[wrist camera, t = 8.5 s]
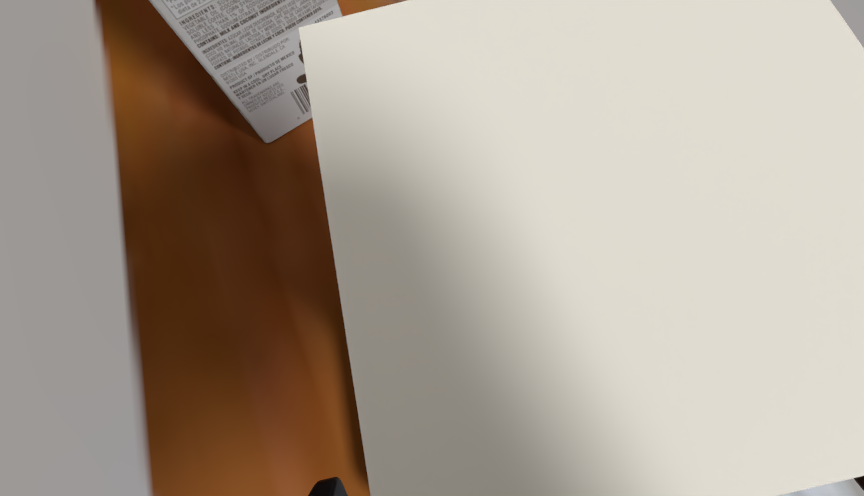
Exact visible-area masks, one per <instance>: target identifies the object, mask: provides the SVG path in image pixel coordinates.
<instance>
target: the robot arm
mask: <svg viewBox="0 0 864 496" xmlns="http://www.w3.org/2000/svg"><path fill="white" fill-rule="evenodd" d="M854 479H855V481H856V482H857V483H858V484H859V485H860V487H861V488H862V489H863V490H864V476H861V477H856V478H854ZM308 496H348V495H347V493H346V491H345V489H344V486H343V484H342V482H341V480H340V479H339V478H338V477H333V478H329V479H324V480H320V481H318V482H317V483H316V484H315V485H314V487H313V489H312V490H311V492H310V493H309V495H308Z"/></svg>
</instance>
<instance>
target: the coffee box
mask: <svg viewBox="0 0 864 496" xmlns="http://www.w3.org/2000/svg"><path fill="white" fill-rule="evenodd" d="M149 1H150V2H151V4H152V5H153V6H154V7H155V9H156V10H157V11H158V12H159V13H160V15H161V16H162V17H163V18H164V20H165V21H166V22H167V23H168V24H169V26H170V27H171V28H172V29H173V31H174V32H175V33H176V34H177V35H178V37H179V38H180V39H181V40H182V42H183V43H184V44H185V45H186V47H187V48H188V49H189V50H190V51H191V53H192V54H193V55H194V56H195V58H196V59H197V60H198V61H199V62H200V64H201V65H202V66H203V67H204V69H205V70H206V71H207V72H208V74H209V75H210V76H211V77H212V79H213V80H214V81H215V82H216V84H217V85H218V86H219V87H220V89H221V90H222V91H223V92H224V93H225V94H226V96H227V97H228V98H229V100H230V101H231V102H232V103H233V105H234V106H235V107H236V108H237V110H238V111H239V112H240V113H241V114H242V116H243V117H244V118H245V119H246V120H247V122H248V123H249V124H250V125H251V126H252V128H253V129H254V130H255V131H256V132H257V134H258V135H259V136H260V137H261V138H262V140H263V141H264V142H265V143H270V142H272V141H274V140H276V139H277V138H279V137H281V136H282V135H284V134H286V133H287V132H289V131H291V130H292V129H294V128H296V127H297V126H299V125H301V124H302V123H304V122H306V121H307V120H309V119H311V118H312V112H311V105H310V99H309V92H308V86H307V79H306V73H305V66H304V60H303V53H302V47H301V40H300V34H299V27H303V26H307V25H311V24H315V23H319V22H323V21H327V20H331V19H335V18H339V17H343V15H342V12H341V9H340V6H339V3H338V1H337V0H149Z"/></svg>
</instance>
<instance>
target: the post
mask: <svg viewBox="0 0 864 496" xmlns="http://www.w3.org/2000/svg"><path fill="white" fill-rule="evenodd" d="M299 34H300V40H301V47H302V53H303V60H304V66H305V73H306V79H307V86H308V92H309V99H310V105H311V112H312V118H313V125H314V131H315V138H316V144H317V151H318V157H319V164H320V170H321V177H322V183H323V190H324V196H325V203H326V209H327V216H328V222H329V229H330V235H331V242H332V248H333V254H334V261H335V267H336V274H337V280H338V287H339V293H340V300H341V306H342V313H343V319H344V326H345V332H346V339H347V345H348V352H349V358H350V365H351V371H352V378H353V384H354V391H355V397H356V404H357V410H358V417H359V423H360V430H361V436H362V443H363V449H364V456H365V462H366V469H367V475H368V482H369V488H370V495H371V496H778V495H782V494H787V493H791V492H795V491H800V490H804V489H808V488H813V487H817V486H821V485H826V484H830V483H834V482H839V481H843V480H848V479H852V478H856V477H861V476H864V48H863V47H862V45H861V44H860V42H859V41H858V39H857V38H856V37H855V35H854V34H853V32H852V31H851V29H850V28H849V27H848V25H847V24H846V22H845V21H844V19H843V18H842V17H841V15H840V14H839V12H838V11H837V9H836V8H835V7H834V5H833V4H832V2H831V1H830V0H408V1H404V2H400V3H396V4H392V5H388V6H384V7H380V8H376V9H372V10H368V11H364V12H360V13H356V14H351V15H347V16H343V17H339V18H335V19H331V20H327V21H323V22H319V23H315V24H311V25H307V26H303V27H299Z"/></svg>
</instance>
